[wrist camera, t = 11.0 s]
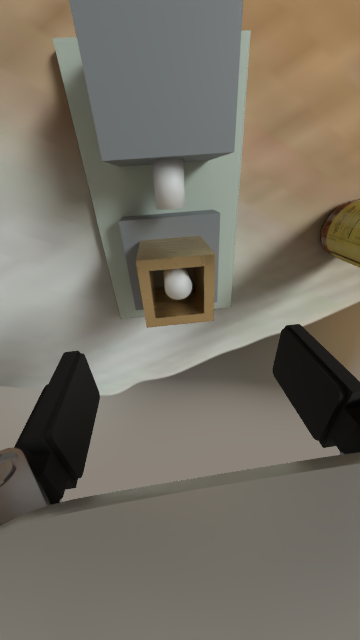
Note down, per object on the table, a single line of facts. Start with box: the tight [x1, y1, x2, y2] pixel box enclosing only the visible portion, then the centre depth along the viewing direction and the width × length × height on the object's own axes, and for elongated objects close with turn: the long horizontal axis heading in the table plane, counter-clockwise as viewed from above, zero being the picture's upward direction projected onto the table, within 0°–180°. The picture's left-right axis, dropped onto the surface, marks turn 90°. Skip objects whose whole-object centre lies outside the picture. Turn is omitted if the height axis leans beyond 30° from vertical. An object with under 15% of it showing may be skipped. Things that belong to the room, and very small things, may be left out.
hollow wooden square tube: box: [136, 236, 216, 328], centre depth 20 cm, size 6×6×6 cm
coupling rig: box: [53, 0, 251, 319], centre depth 19 cm, size 14×23×9 cm, turn 4°
